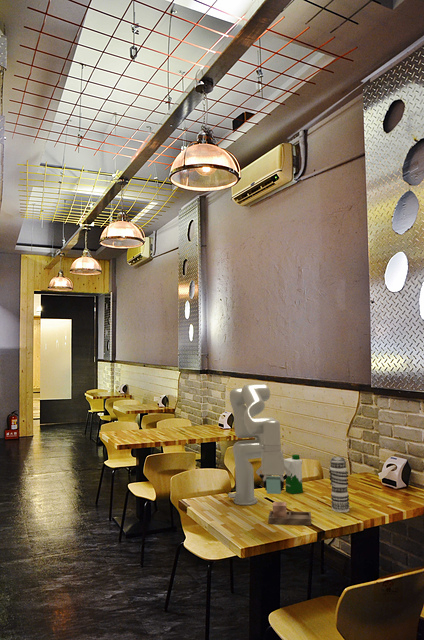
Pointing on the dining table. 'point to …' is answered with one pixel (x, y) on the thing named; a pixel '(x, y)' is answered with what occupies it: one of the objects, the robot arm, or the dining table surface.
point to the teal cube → (273, 485)
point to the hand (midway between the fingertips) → (274, 489)
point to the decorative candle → (339, 484)
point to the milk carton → (294, 475)
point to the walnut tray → (288, 515)
